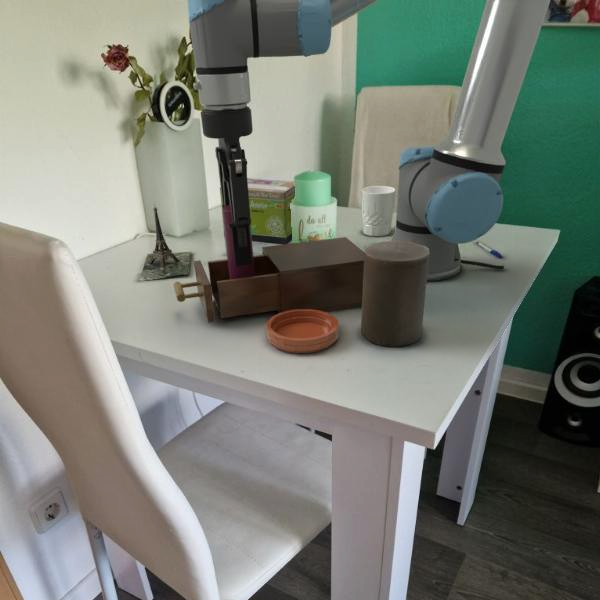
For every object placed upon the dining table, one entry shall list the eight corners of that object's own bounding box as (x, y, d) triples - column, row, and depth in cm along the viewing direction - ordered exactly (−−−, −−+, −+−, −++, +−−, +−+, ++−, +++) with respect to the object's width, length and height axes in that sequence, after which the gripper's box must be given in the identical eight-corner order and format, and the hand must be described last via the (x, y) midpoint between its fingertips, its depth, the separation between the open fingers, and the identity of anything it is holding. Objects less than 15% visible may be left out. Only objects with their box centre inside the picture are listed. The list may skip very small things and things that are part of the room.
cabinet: (282, 318, 96) (280, 271, 91) (264, 290, 107) (261, 247, 102) (371, 305, 100) (373, 259, 95) (345, 279, 110) (345, 236, 106)
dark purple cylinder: (253, 287, 101) (245, 202, 93) (258, 296, 97) (251, 209, 89) (229, 291, 100) (219, 205, 92) (234, 300, 96) (224, 212, 88)
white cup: (395, 236, 132) (397, 193, 127) (361, 237, 132) (363, 194, 127) (390, 227, 139) (393, 185, 133) (359, 228, 139) (360, 186, 133)
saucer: (325, 318, 95) (325, 304, 94) (348, 348, 86) (348, 333, 85) (260, 328, 93) (259, 314, 92) (277, 359, 84) (276, 345, 82)
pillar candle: (380, 352, 85) (386, 256, 76) (350, 327, 92) (352, 237, 84) (434, 339, 88) (445, 245, 80) (400, 316, 95) (407, 228, 87)
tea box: (224, 255, 124) (217, 186, 116) (243, 242, 132) (238, 176, 124) (287, 261, 120) (284, 190, 112) (303, 247, 128) (301, 179, 119)
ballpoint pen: (503, 259, 118) (504, 254, 117) (499, 259, 118) (500, 254, 117) (478, 244, 127) (479, 239, 126) (474, 244, 126) (475, 240, 126)
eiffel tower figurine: (189, 277, 114) (180, 210, 106) (139, 280, 113) (126, 213, 105) (191, 253, 126) (183, 192, 119) (146, 256, 125) (134, 195, 118)
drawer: (182, 326, 92) (176, 288, 89) (175, 299, 102) (169, 264, 98) (296, 310, 97) (295, 273, 93) (278, 285, 106) (277, 250, 103)
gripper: (192, 103, 89) (211, 247, 102) (209, 114, 75) (227, 280, 87) (239, 99, 90) (251, 242, 103) (263, 110, 76) (274, 273, 89)
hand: (240, 259), depth 95 cm, fingers closed on dark purple cylinder, 4 cm apart
